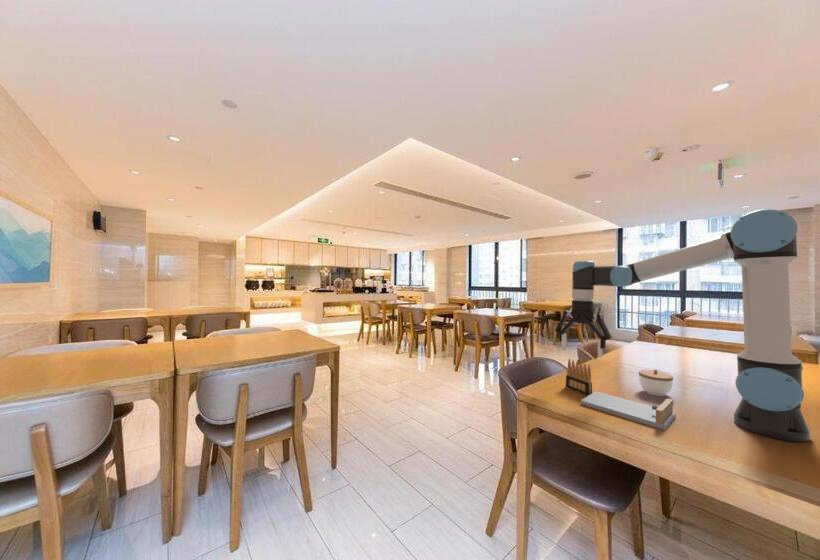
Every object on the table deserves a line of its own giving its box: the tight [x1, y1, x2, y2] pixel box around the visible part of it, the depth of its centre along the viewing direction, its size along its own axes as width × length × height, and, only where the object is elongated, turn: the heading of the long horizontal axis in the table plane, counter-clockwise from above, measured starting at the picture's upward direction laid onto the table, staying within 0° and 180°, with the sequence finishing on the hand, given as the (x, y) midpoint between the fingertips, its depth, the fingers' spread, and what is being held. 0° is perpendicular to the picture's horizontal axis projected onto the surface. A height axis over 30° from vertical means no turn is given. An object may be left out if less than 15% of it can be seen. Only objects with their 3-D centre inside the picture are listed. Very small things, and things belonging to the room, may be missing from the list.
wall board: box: [580, 391, 676, 431], centre depth 107 cm, size 24×14×6 cm, turn 39°
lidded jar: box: [638, 369, 674, 397], centre depth 124 cm, size 11×11×9 cm
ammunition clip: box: [565, 358, 593, 397], centre depth 125 cm, size 11×2×12 cm, turn 23°
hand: (581, 353), depth 124 cm, fingers open, 13 cm apart
